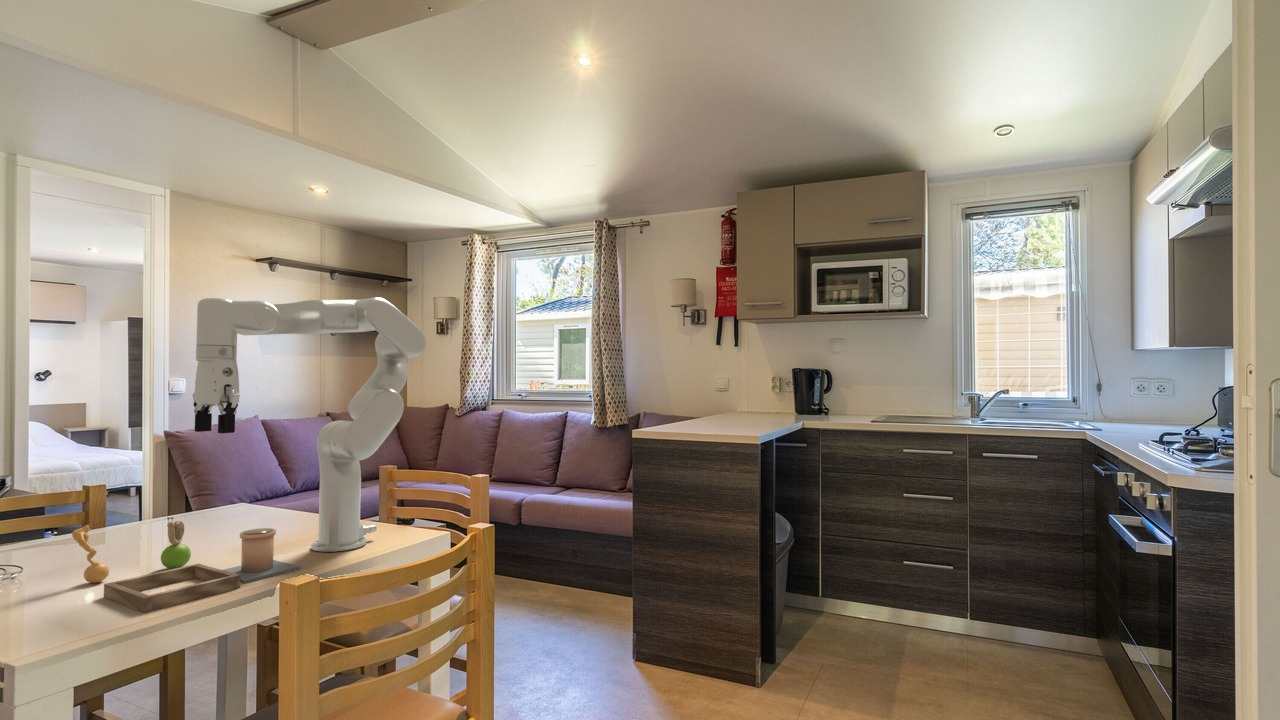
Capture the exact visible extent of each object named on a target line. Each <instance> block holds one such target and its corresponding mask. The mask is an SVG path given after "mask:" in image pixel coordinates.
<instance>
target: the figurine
mask: <svg viewBox="0 0 1280 720" xmlns="http://www.w3.org/2000/svg"><path fill="white" fill-rule="evenodd" d="M90 531H91V528H90V525H88V524H86V525H84V526H83V527H81V528H77V529H75V530H73V531H72V532H71V537H72V539H73V540H74V541H75V542H76V543H78V545H79V546H80V547H81V548H82V549H84V551H86V552H87V553H88V554H86V559H87V561H88V562H89V564H90V565H89V566H87V567H86V568H85V570H84V572H83V578H84V580H85V581H86V582H88V583H89V584H98V583H101V582H104V580H105V579H107V578H108V576H109V573H110V569H109V566H108V565H107V564H105V563H102V562H98V561H94V560H93V559H92V558H94V557H95V555H96V554H97V552H98V551H97V550H96V549H95V548H94V547H93V546H92V545H90V544H89V537H90V535H89V532H90Z"/></svg>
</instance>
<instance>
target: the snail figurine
mask: <svg viewBox="0 0 1280 720" xmlns="http://www.w3.org/2000/svg"><path fill="white" fill-rule="evenodd" d="M174 518H175V517H174V516H171V517H170V516H168V517H167V518H166V519H167V536H168V537H167V538H168V542H169V543H170V545H168V546H167V547H165V548H164V550H163V551H162V552H161V555H160V562H161V564H162V565H163V567H165V568H167V569H168V570H171V569H176V568H180V567H185V566H186V564H188V562H189V561H190V560H191V557H192V553H191V549H190V547H189V546H188V545H185V544H184V543H182V541H183V536H184V533H185V524H184V522H183V521H181V520H176V521H174V522H173V521H169V520H174Z"/></svg>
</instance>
